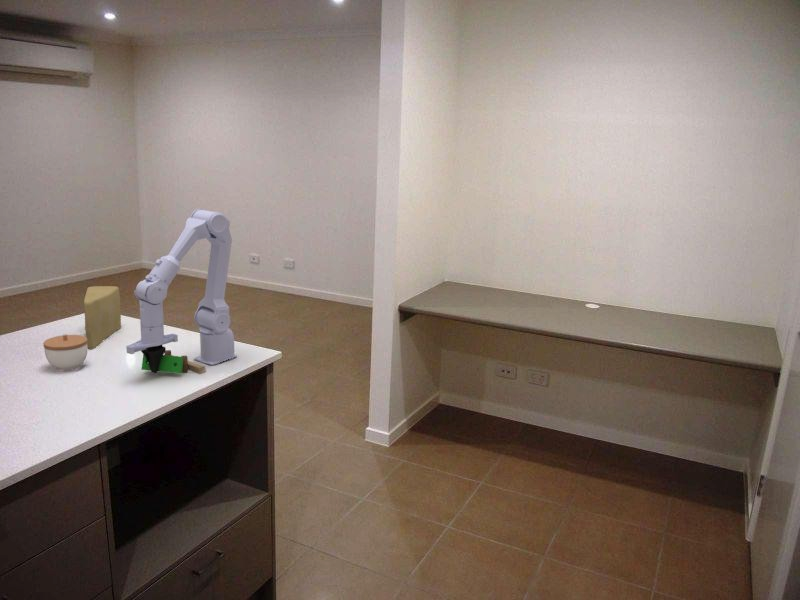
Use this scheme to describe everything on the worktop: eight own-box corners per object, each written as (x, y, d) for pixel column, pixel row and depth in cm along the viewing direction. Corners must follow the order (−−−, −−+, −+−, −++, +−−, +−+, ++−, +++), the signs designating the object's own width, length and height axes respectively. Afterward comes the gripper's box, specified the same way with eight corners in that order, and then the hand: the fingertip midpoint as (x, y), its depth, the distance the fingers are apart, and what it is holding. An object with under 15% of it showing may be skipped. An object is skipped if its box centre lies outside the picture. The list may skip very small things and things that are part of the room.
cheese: (107, 349, 184) (104, 301, 181) (72, 350, 182) (68, 302, 178) (122, 327, 205) (119, 284, 201) (91, 328, 203) (87, 285, 199)
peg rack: (168, 359, 178) (167, 344, 177) (205, 372, 170) (204, 356, 169) (155, 363, 175) (154, 348, 174) (192, 376, 167) (192, 361, 165)
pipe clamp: (186, 373, 169) (188, 357, 169) (179, 373, 165) (181, 356, 165) (148, 369, 170) (150, 353, 170) (141, 369, 166) (143, 353, 167)
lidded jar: (71, 375, 163) (68, 342, 161) (36, 371, 165) (33, 338, 163) (98, 362, 173) (95, 331, 171) (65, 358, 175) (62, 327, 173)
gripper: (165, 316, 170) (167, 361, 173) (118, 327, 158) (121, 376, 161) (182, 321, 166) (183, 367, 170) (134, 332, 154) (137, 382, 158)
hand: (154, 372), depth 165 cm, fingers closed, pressing on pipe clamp
